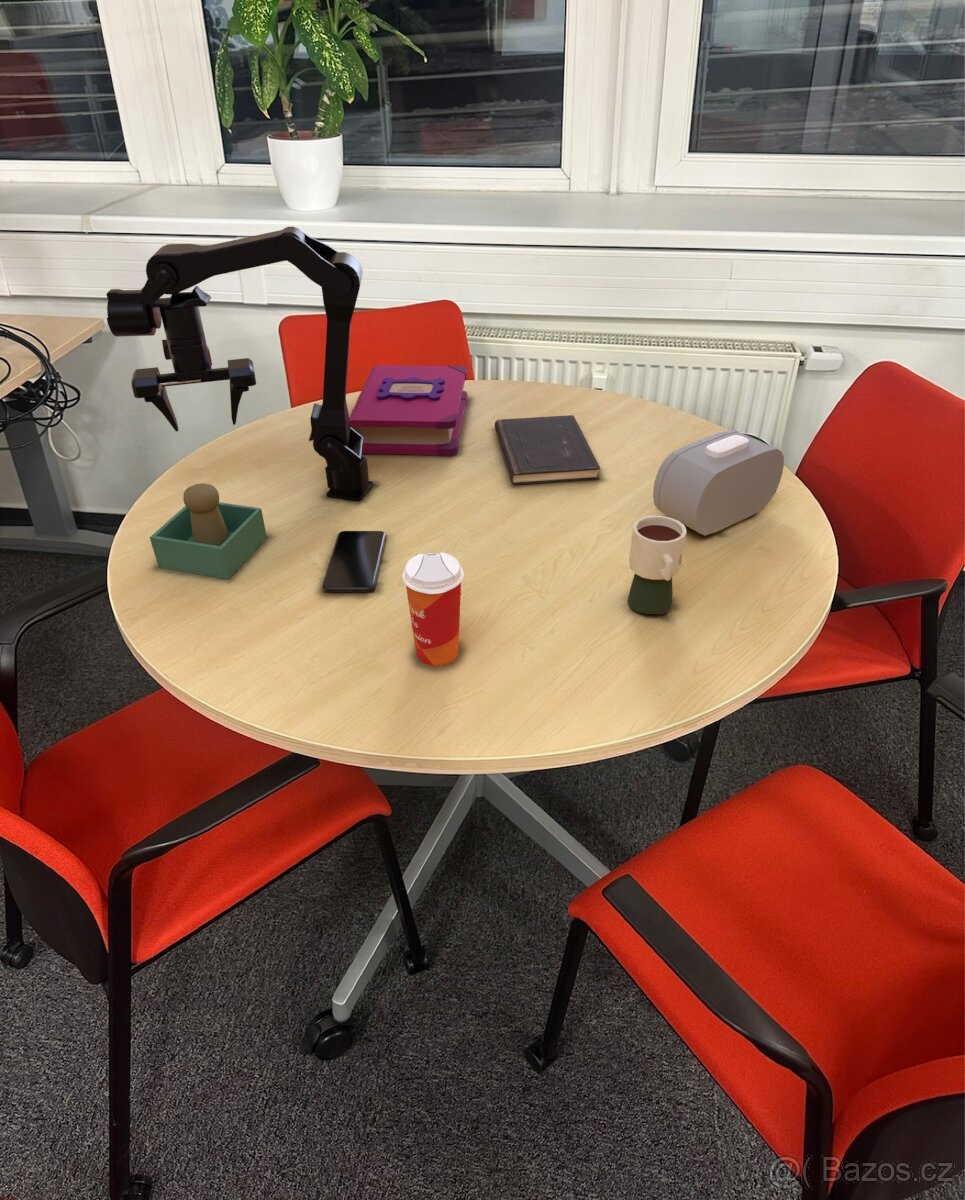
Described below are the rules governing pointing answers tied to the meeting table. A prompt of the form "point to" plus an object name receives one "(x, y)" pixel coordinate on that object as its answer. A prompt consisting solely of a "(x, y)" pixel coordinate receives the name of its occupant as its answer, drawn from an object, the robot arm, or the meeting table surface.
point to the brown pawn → (205, 514)
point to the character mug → (655, 562)
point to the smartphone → (354, 561)
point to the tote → (205, 559)
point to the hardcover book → (545, 450)
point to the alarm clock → (717, 481)
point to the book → (411, 410)
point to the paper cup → (434, 606)
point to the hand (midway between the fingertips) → (205, 427)
